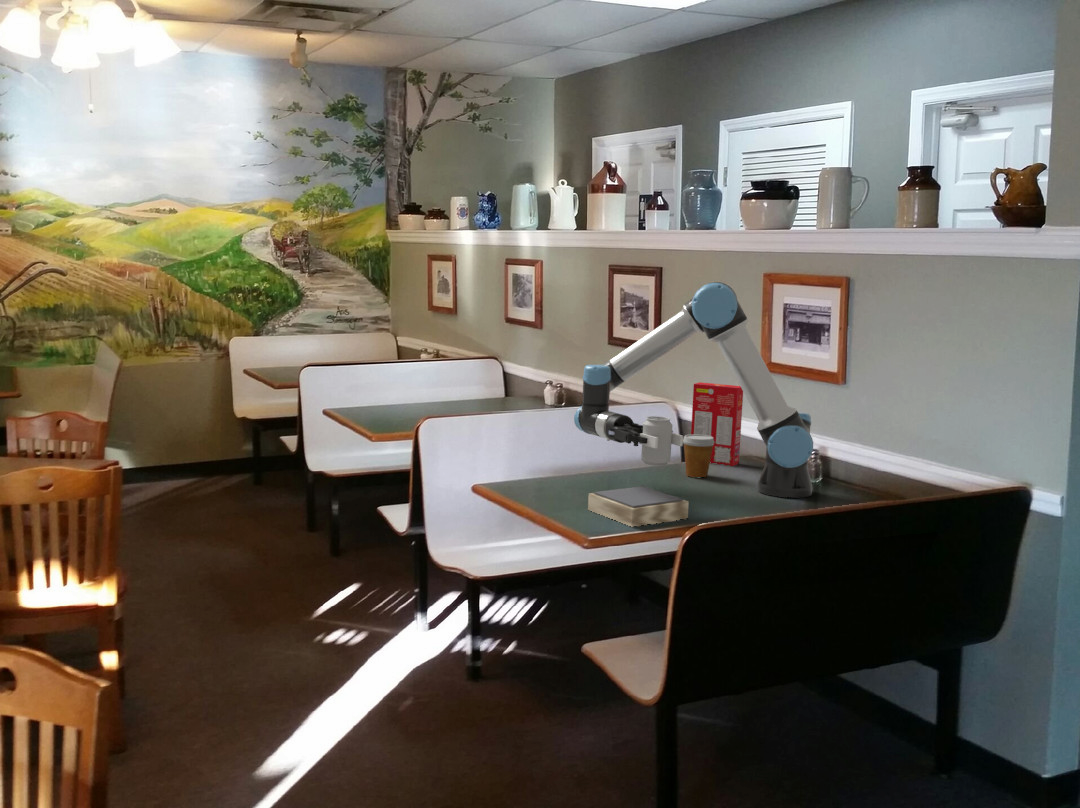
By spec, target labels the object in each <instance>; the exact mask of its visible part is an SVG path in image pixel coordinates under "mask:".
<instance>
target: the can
mask: <svg viewBox="0 0 1080 808" xmlns="http://www.w3.org/2000/svg"><path fill="white" fill-rule="evenodd" d="M645 419H646V420H645V421H644V422H643V424H642V425H643V434H647V435H650V436H654V437H657V438H658V448H652V447H648V446H645V445H642V444H641V455H640V456H641V458H640V460H641V461H642V462H643V463H644V464H645V465H648V466H654V467H663V466H664V467H665V466H667V465H668V464H669V463H670V462H671V457H672V456H671V455H672V444H671V442H672V431H673V426H674V425H673V423H671V419H670V417H666V416H657V415H655V416H646V417H645Z"/></svg>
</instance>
